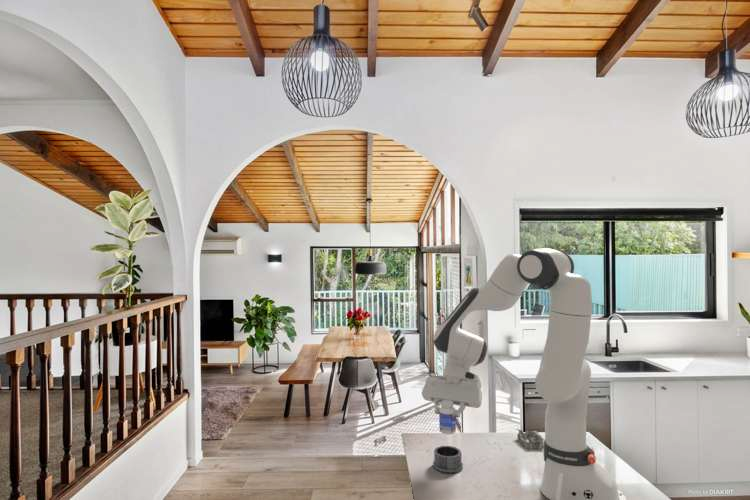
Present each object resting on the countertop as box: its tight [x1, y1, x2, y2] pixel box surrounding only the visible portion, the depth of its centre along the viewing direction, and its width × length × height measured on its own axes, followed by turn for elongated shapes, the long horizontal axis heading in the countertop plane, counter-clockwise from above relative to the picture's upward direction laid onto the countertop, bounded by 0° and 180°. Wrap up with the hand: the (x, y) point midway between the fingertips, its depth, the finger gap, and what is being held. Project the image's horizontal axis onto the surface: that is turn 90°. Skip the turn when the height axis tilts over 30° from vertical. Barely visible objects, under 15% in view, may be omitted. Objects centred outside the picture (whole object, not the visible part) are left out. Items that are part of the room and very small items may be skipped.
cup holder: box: [432, 445, 464, 475], centre depth 144 cm, size 10×10×5 cm
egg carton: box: [516, 428, 545, 450], centre depth 162 cm, size 11×8×4 cm
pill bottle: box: [438, 400, 457, 435], centre depth 145 cm, size 5×5×10 cm
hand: (446, 414), depth 144 cm, fingers closed on pill bottle, 5 cm apart
